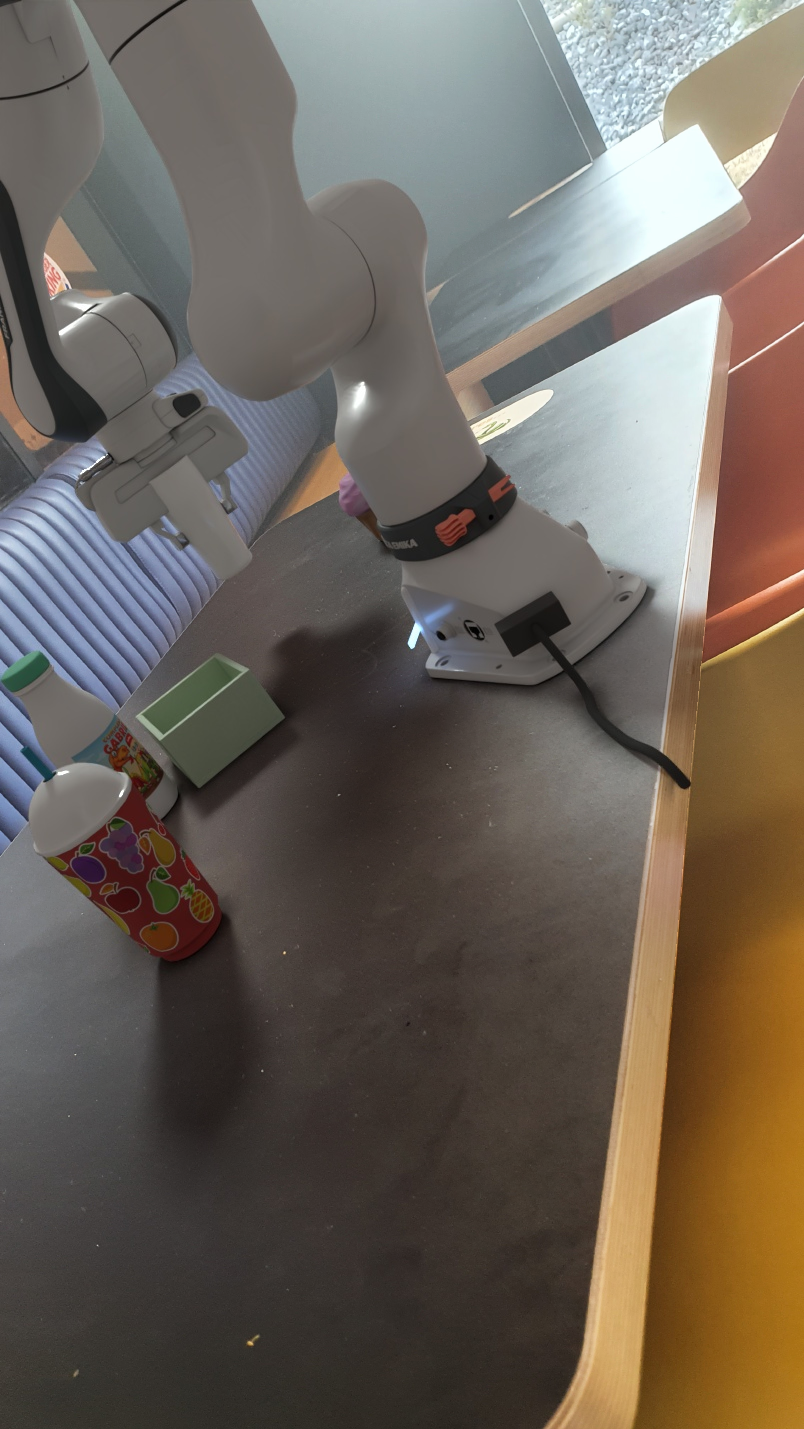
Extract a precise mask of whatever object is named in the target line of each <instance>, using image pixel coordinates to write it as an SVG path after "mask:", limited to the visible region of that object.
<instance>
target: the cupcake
mask: <svg viewBox="0 0 804 1429" xmlns="http://www.w3.org/2000/svg"><path fill="white" fill-rule="evenodd" d="M338 485H339V489H338V490H339V493H338V494H339V496H338V503H339V505H340V508H341V510H342V511H343V512H344V514H347V515H348V516H349V517H351V518H353V517H354V518H356V519H357V520H358V521H359V523H361V524H362V525H363V526H364V527H365V528H366V529H367V530H368V531H369V532H370V534H372V535H373V536H374V537H375V538H376V539H377V540H379V541H382V542H384V541H383V539H382V536H381V533H380V531H379V530H378V528H377V520H378V519H377V518H376V516H375V514H374V513H373V511H372V509H371V508H370V506H369V504H368V503H367V501H366V500H365V498H364V496H363V495H362V493H361V491H360V490H359V488H358V486H357V485H356V483H355V482H354V480H353V478H352V477H351V475H350V473H349V472H347V473H346V474H345V475H344V476H342V477H341V478H340V480H339V483H338Z"/></svg>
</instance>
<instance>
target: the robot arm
mask: <svg viewBox="0 0 804 1429" xmlns="http://www.w3.org/2000/svg"><path fill="white" fill-rule="evenodd" d="M72 1H73V2H74V4H75V5H76V7H77V9H78V10H79V11H80V14H81V15H82V17H83V19H84V21H85V23H86V24H87V26H88V28H89V30H90V32H91V34H92V36H93V38H94V40H95V42H96V44H97V45H98V47H99V49H100V51H101V53H102V54H103V56H104V58H105V60H106V62H107V63H108V65H109V66H110V69H111V71H112V72H113V75H114V76H115V78H116V79H117V82H118V83H119V85H120V86H121V88H122V90H123V92H124V93H125V95H126V98H127V99H128V100H129V102H130V104H131V106H132V108H133V109H134V112H135V113H136V115H137V117H138V119H139V121H140V122H141V124H142V126H143V129H144V130H145V131H146V134H147V135H148V137H149V139H150V141H151V142H152V145H153V147H154V148H155V151H156V152H157V153H158V156H159V157H160V160H161V161H162V164H163V166H164V167H165V170H166V173H167V174H168V176H169V178H170V179H169V180H170V181H171V184H172V187H173V189H174V192H175V195H176V199H177V201H178V204H179V206H180V210H181V214H182V218H183V222H184V226H185V230H186V235H187V240H188V245H189V254H190V260H191V262H190V263H191V285H190V292H189V298H188V301H187V307H186V326H187V327H186V328H187V332H188V336H189V340H190V343H191V346H192V350H193V351H194V354H195V355H196V358H197V359H198V361H199V363H200V364H201V366H202V367H203V369H204V370H205V371H206V373H207V374H208V375H209V376H210V377H211V379H213V380H214V381H215V383H217V384H218V385H219V386H220V387H221V388H223V389H225V391H227V392H229V393H231V394H232V395H234V396H236V397H238V398H240V399H243V400H246V401H251V402H257V403H258V402H259V403H260V402H261V403H262V402H268V401H272V400H275V399H277V398H279V397H282V396H284V395H287V394H289V393H292V392H295V391H296V390H298V389H300V388H302V387H304V386H307V385H309V384H311V383H313V382H314V381H316V380H317V379H318V378H320V377H321V376H322V375H323V374H324V373H325V372H327V370H329V369H330V372H331V375H332V377H333V378H332V379H333V382H334V387H335V393H336V401H337V402H336V404H337V415H336V420H335V426H334V443H335V444H334V445H335V448H336V452H337V454H338V457H339V458H340V461H341V462H342V463H343V466H344V467H345V468H346V470H347V473H350V475H351V477H352V478H353V480H354V482H355V483H356V485H357V486H358V488H359V490H360V491H361V493H362V495H363V496H364V498H365V500H366V501H367V503H368V504H369V506H370V508H371V509H372V511H373V513H374V514H375V516H376V518H377V519H378V520H377V528H378V530H379V531H380V533H381V536H382V539H383V541H382V542H383V543H384V544H385V546H386V547H387V548H388V549H389V551H390V552H391V554H392V555H393V557H394V558H395V559H396V560H398V561H400V566H401V585H400V596H401V598H402V600H403V601H404V603H405V605H406V607H407V609H408V611H409V613H410V615H411V617H412V618H413V621H414V622H415V623H414V626H413V629H412V631H411V634H410V636H409V639H408V642H407V645H408V646H409V647H410V649H411V650H412V649H414V648H415V646H416V643H417V640H418V637H419V634H421V636H422V637H423V640H424V641H425V643H426V645H427V646H428V648H429V651H430V654H429V656H428V658H427V660H426V662H425V665H424V666H425V669H426V672H427V674H428V676H429V677H430V678H434V679H435V678H438V679H449V680H461V681H471V682H472V681H473V682H483V683H484V682H485V683H496V684H497V683H498V684H508V685H520V686H521V685H523V686H535V685H538V684H540V683H542V682H544V681H547V680H549V679H551V678H552V677H554V676H556V675H558V674H560V673H562V672H565V674H566V675H567V676H568V678H569V679H570V680H571V681H572V682H573V684H574V685H575V686H576V688H577V689H578V691H579V693H580V694H581V696H582V698H583V701H584V703H585V707H586V710H587V712H588V714H589V716H590V717H591V718H592V720H593V721H594V722H595V723H596V724H597V726H599V728H601V730H603V731H604V732H605V733H606V734H607V735H609V736H610V737H611V738H613V739H614V740H615V741H616V742H617V743H619V744H620V745H622V746H623V747H624V748H627V749H629V750H631V751H633V752H636V753H638V754H641V755H643V756H645V757H647V758H649V759H650V760H651V761H653V762H654V763H656V764H657V765H658V766H659V767H660V768H662V770H664V771H665V773H667V774H668V776H669V777H671V779H672V780H673V781H674V782H675V784H676V785H677V786H678V787H679V788H680V789H682V790H687V789H689V788H690V787H691V786H692V782H691V781H690V779H689V778H688V777H687V775H686V774H685V773H684V772H683V770H681V768H679V767H678V765H677V764H676V763H674V761H672V760H671V758H669V757H668V756H667V755H665V754H664V752H662V751H661V750H659V749H657V747H654V746H652V745H650V744H647V743H645V742H642V741H640V740H638V739H636V738H634V737H631V736H629V735H628V734H627V733H625V732H624V731H622V730H621V729H620V728H619V727H617V726H616V725H614V724H613V723H611V721H609V720H608V719H607V718H606V717H605V716H604V715H603V714H602V712H601V711H600V709H599V707H598V705H597V703H596V699H595V697H594V694H593V692H592V690H591V688H590V687H589V685H588V684H587V682H586V681H585V679H583V677H582V676H581V675H580V673H579V672H578V670H577V669H576V668H575V667H574V666H573V665H574V664H575V663H577V662H578V661H580V660H581V659H582V658H583V657H585V656H586V655H587V654H589V653H590V652H591V651H593V650H594V649H595V648H596V647H598V645H600V644H601V643H602V642H603V641H605V640H606V639H607V638H608V637H610V635H611V634H612V633H613V632H614V631H615V630H616V629H618V628H619V627H620V626H621V625H622V624H623V623H624V622H625V621H626V620H627V619H628V617H630V615H631V614H632V613H633V612H634V611H635V610H636V609H637V607H638V606H639V604H640V603H641V601H642V599H643V597H644V596H645V594H646V591H647V588H648V585H647V584H646V582H645V580H644V579H643V578H642V577H641V576H640V575H636V574H634V573H631V572H629V571H626V570H624V569H621V568H618V567H616V566H613V565H610V564H607V563H605V562H602V560H601V559H600V557H599V555H598V554H597V552H596V551H595V549H594V548H593V546H592V545H591V544H590V543H589V542H588V540H589V534H588V531H587V529H586V527H585V526H584V525H583V523H581V522H580V521H579V520H577V519H571V520H570V521H569V522H567V523H566V524H563V523H561V522H560V521H558V520H557V519H555V518H553V517H552V516H551V515H550V513H549V512H548V511H547V510H546V508H538V507H535V505H533V504H531V503H529V502H528V501H527V500H525V499H524V498H522V497H520V496H519V495H518V489H517V487H516V484H515V483H512V481H511V480H510V479H511V477H512V475H510V474H507V473H506V472H505V471H504V469H503V468H502V467H501V466H499V465H498V463H497V462H496V461H495V460H494V459H493V458H492V457H491V456H490V455H487V454H485V452H484V449H483V448H482V447H481V445H480V442H479V441H478V439H477V437H476V434H475V433H474V431H473V429H472V427H471V424H470V423H469V421H468V419H467V417H466V415H465V413H464V411H463V409H462V407H461V405H460V403H459V400H458V399H457V397H456V394H455V392H454V391H453V388H452V387H451V384H450V382H449V380H448V378H447V374H446V371H445V368H444V366H443V365H444V364H443V363H442V359H441V355H440V352H439V349H438V345H437V340H436V337H435V336H436V335H435V331H434V328H433V322H432V317H431V313H430V307H429V302H428V296H427V289H426V287H427V286H426V270H427V269H426V268H427V260H428V254H429V238H428V233H427V228H426V224H425V222H424V218H423V216H422V214H421V212H420V210H419V209H418V207H417V205H416V204H415V203H414V201H413V200H412V199H411V197H410V196H409V195H408V194H407V193H406V192H405V191H404V190H402V189H401V188H400V187H398V186H397V185H395V184H394V183H392V182H390V181H388V180H385V179H381V178H376V177H375V178H374V177H368V178H361V179H355V180H349V181H345V182H341V183H337V184H333V185H330V186H328V187H327V186H326V187H325V188H323V189H322V190H319V192H317V193H315V194H314V195H312V196H311V197H309V198H307V199H305V196H304V192H303V188H302V186H301V185H302V184H301V183H300V182H301V181H300V178H299V174H298V168H297V164H296V163H297V162H296V159H295V158H296V157H295V151H294V150H295V149H294V132H295V125H296V122H297V118H298V109H299V104H298V102H299V101H298V100H299V99H298V95H297V90H296V86H295V85H294V82H293V79H292V78H291V76H290V74H289V72H288V70H287V67H286V66H285V64H284V62H283V60H282V58H281V56H280V53H279V51H278V50H277V48H276V46H275V44H274V41H273V40H272V37H271V36H270V33H269V32H268V30H267V28H266V26H265V24H264V22H263V20H262V17H261V16H260V14H259V11H258V10H257V7H256V6H255V3H254V1H253V0H72ZM99 91H100V90H99V87H98V84H97V82H96V78H95V74H94V72H93V69H92V65H91V62H90V60H89V57H88V54H87V50H86V48H85V44H84V41H83V38H82V35H81V31H80V30H79V27H78V24H77V21H76V18H75V15H74V12H73V9H72V5H71V1H70V0H0V334H1V337H2V341H3V346H4V348H5V354H6V360H7V368H8V375H9V376H8V377H9V385H10V389H11V393H12V396H13V400H14V402H15V404H16V406H17V408H18V410H19V412H20V414H21V415H22V416H23V418H24V419H25V421H26V422H27V423H28V424H29V426H31V427H32V429H33V430H35V431H36V432H37V433H38V434H40V435H41V436H43V437H45V438H48V439H51V440H55V441H57V442H58V441H59V442H65V443H73V444H74V443H76V444H84V443H87V442H88V441H89V440H90V439H91V438H92V437H94V438H96V440H97V441H98V442H99V444H100V445H101V447H102V448H103V449H104V450H105V452H106V454H104V455H103V456H102V457H100V458H99V459H98V460H96V461H95V462H94V463H93V464H92V465H91V466H90V467H88V468H85V469H84V470H82V471H81V472H80V473H78V475H77V480H76V481H75V483H74V493H75V496H76V497H77V499H78V500H79V502H80V503H81V504H82V505H83V506H84V508H85V509H86V510H88V511H90V512H94V514H95V516H96V518H97V520H98V521H99V523H100V524H101V526H102V527H103V529H104V531H105V532H106V533H107V535H108V536H109V537H110V539H111V540H112V541H114V542H116V543H118V544H119V543H120V544H127V543H129V542H131V541H132V540H133V539H135V538H136V537H137V536H139V535H140V534H141V533H143V532H144V531H145V530H147V529H148V528H149V530H150V532H152V533H153V534H154V535H157V536H159V537H162V538H163V539H165V540H169V541H170V543H171V544H172V546H173V547H174V548H175V549H176V550H177V551H178V552H181V551H183V550H184V549H185V548H186V547H188V546H190V545H189V542H188V541H187V540H186V539H185V536H184V535H183V534H182V533H179V532H178V531H177V532H176V533H175V534H173V533H170V532H168V531H166V530H164V528H165V527H166V526H165V524H164V522H163V521H162V519H161V518H163V517H165V516H164V515H165V514H167V513H168V512H169V510H168V508H167V506H166V505H165V504H164V502H163V501H162V500H161V498H160V497H159V496H158V494H157V493H156V491H155V490H154V488H153V487H152V485H151V484H148V482H149V481H150V480H152V479H154V478H156V477H157V476H159V475H160V474H162V473H163V472H165V471H166V470H168V469H169V468H170V467H172V466H173V465H174V464H176V463H177V462H178V461H179V460H181V459H182V458H183V457H184V456H185V455H188V458H189V459H190V460H191V461H192V463H193V464H194V465H195V467H196V468H197V469H198V471H199V472H200V474H201V475H202V476H203V478H204V479H205V481H206V482H207V483H209V484H210V482H213V483H214V485H215V486H219V487H220V488H219V489H220V495H221V499H220V500H219V501H220V503H221V505H222V506H223V508H224V510H225V511H226V513H227V515H228V516H229V515H231V514H232V513H233V512H235V511H236V510H237V509H238V508H239V507H238V504H237V503H236V502H235V500H234V498H233V497H232V493H231V481H230V478H229V476H228V475H227V473H226V472H225V471H227V469H229V468H231V467H232V466H233V465H234V464H236V463H237V462H238V461H240V460H241V459H242V458H244V457H245V456H247V455H248V453H249V441H248V439H247V438H246V437H245V435H244V433H243V432H242V431H241V429H240V428H239V427H238V425H237V424H236V423H235V422H234V421H233V419H231V417H230V416H229V415H228V414H227V413H226V412H225V411H224V410H223V409H222V408H220V407H218V406H216V405H208V404H209V397H208V395H207V394H206V392H205V391H204V390H203V389H202V388H192V389H189V390H185V391H181V392H178V393H177V392H174V393H173V392H172V393H169V394H167V395H166V396H164V397H162V396H161V395H159V393H158V392H157V390H156V389H155V387H156V386H157V385H159V384H160V383H162V382H163V381H164V380H165V379H166V378H168V377H169V375H170V374H171V373H172V372H173V370H174V369H176V367H177V364H178V358H179V345H178V344H179V343H178V338H177V334H176V332H175V329H174V328H173V325H172V323H171V322H170V320H169V319H168V317H167V316H166V315H165V313H164V312H163V310H162V309H161V308H160V307H158V305H157V304H155V303H154V302H153V301H152V300H150V299H148V298H146V297H144V296H142V295H139V294H137V293H132V292H122V293H121V294H117V295H116V294H115V295H111V296H110V295H109V296H104V297H103V296H102V297H93V296H89V295H87V294H86V293H84V292H83V291H82V290H80V289H77V288H67V289H64V290H61V291H59V292H57V293H55V294H53V295H52V296H51V294H50V290H49V287H48V282H47V279H46V274H45V263H44V260H45V251H46V247H47V243H48V241H49V237H50V235H51V233H52V231H53V229H54V227H55V225H56V223H57V222H58V220H59V218H60V216H61V215H62V213H63V212H64V210H65V208H66V207H67V205H68V204H69V203H70V201H71V200H72V198H74V196H75V195H76V193H77V192H78V191H79V190H80V189H81V188H82V186H83V185H84V184H85V183H86V181H88V179H89V177H90V175H91V174H92V172H93V170H94V169H95V167H96V165H97V164H98V161H99V157H100V155H101V152H102V148H103V145H104V140H105V118H104V117H105V116H104V109H103V105H102V100H101V95H100V92H99ZM81 483H82V484H81ZM80 484H81V485H80Z"/></svg>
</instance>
